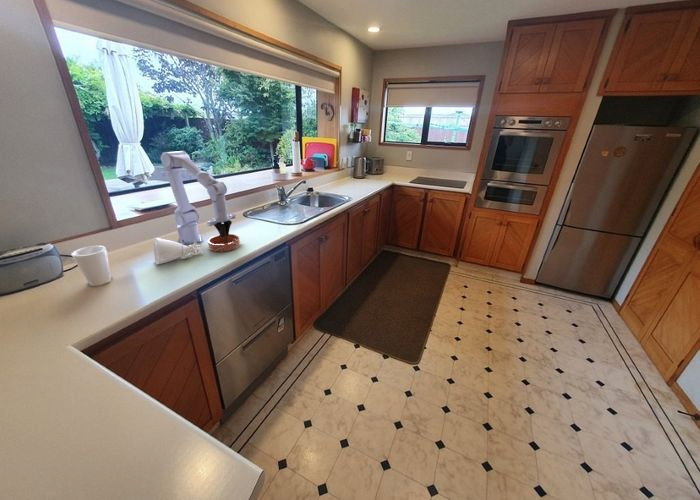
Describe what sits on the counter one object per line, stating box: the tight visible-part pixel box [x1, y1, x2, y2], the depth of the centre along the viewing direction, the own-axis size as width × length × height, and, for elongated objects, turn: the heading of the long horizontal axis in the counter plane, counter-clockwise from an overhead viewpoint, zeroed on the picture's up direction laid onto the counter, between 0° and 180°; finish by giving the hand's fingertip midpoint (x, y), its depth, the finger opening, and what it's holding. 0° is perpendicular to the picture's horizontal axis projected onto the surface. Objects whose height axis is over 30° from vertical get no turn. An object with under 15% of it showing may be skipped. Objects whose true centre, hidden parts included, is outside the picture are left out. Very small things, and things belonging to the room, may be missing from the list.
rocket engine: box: [153, 237, 203, 265], centre depth 126 cm, size 12×12×18 cm
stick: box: [222, 223, 228, 243], centre depth 136 cm, size 2×2×10 cm
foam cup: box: [70, 245, 112, 287], centre depth 104 cm, size 10×9×13 cm
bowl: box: [207, 233, 241, 253], centre depth 140 cm, size 14×14×4 cm
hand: (224, 236), depth 136 cm, fingers closed on stick, 2 cm apart
